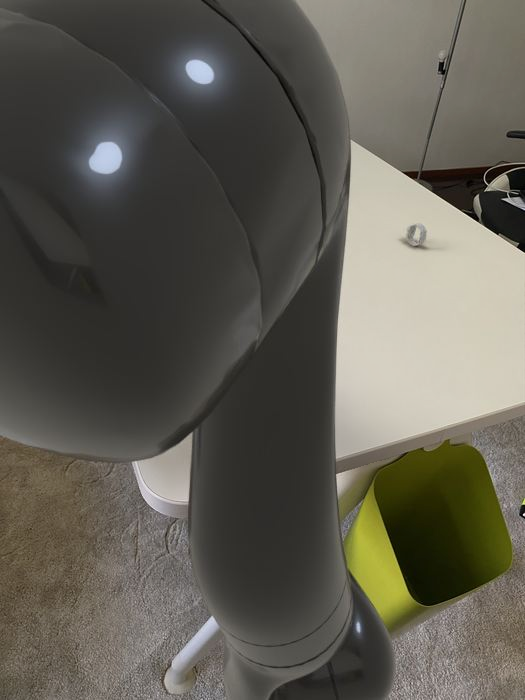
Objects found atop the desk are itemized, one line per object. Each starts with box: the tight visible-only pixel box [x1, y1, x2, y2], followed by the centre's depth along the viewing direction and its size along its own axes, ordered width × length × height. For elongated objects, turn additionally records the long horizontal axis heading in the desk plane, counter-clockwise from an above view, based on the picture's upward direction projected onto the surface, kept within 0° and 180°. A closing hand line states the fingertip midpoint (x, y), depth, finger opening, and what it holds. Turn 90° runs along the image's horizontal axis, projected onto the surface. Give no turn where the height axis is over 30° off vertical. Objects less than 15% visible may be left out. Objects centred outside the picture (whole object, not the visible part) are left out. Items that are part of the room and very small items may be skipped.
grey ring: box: [405, 222, 428, 247], centre depth 100 cm, size 4×2×4 cm, turn 31°
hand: (233, 329), depth 60 cm, fingers closed
